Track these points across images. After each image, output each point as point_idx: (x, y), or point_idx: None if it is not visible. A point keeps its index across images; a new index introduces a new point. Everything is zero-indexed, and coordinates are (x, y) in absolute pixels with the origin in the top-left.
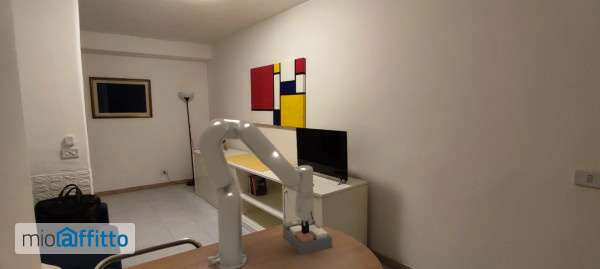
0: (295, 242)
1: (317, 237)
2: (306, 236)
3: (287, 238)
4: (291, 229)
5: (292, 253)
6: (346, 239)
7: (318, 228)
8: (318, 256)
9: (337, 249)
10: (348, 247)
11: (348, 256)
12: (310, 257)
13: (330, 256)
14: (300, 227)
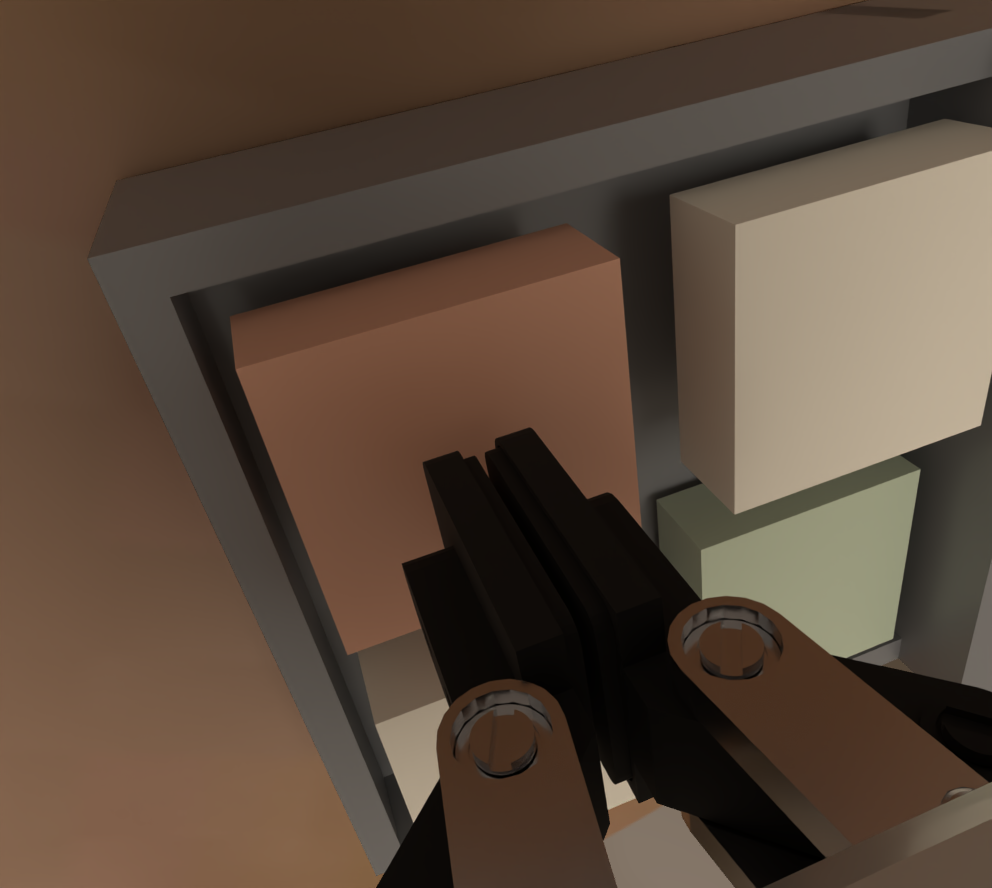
0: (426, 149)
1: (367, 690)
2: (368, 505)
3: (815, 28)
4: (922, 165)
5: (262, 3)
6: None
7: None
8: (68, 514)
9: (269, 773)
10: (297, 879)
11: (39, 883)
12: (35, 370)
13: (55, 685)
14: (879, 419)
